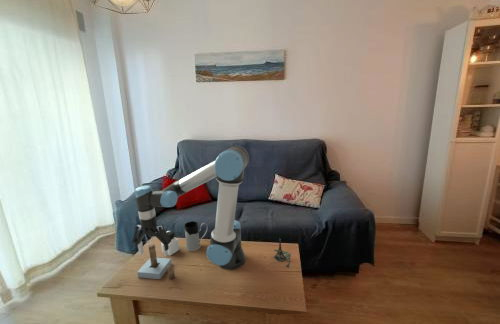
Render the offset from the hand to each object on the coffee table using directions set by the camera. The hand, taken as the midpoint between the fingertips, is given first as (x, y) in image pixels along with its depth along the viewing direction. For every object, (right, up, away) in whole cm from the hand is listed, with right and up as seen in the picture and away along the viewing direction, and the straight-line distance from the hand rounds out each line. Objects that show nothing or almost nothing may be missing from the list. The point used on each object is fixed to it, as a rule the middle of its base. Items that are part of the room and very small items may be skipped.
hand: (154, 254), depth 122 cm
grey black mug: (+18, -3, +23) cm, 29 cm away
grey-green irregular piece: (+66, -6, +8) cm, 67 cm away
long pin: (0, -9, +2) cm, 9 cm away
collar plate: (0, -9, +2) cm, 9 cm away
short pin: (+10, -10, -3) cm, 15 cm away
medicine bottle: (+3, -5, +19) cm, 19 cm away
